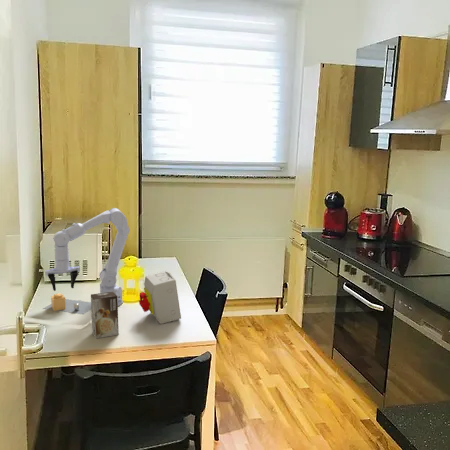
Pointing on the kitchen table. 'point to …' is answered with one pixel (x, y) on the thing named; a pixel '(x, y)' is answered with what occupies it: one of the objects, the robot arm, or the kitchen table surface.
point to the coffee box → (104, 314)
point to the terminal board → (69, 305)
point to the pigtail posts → (76, 307)
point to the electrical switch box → (161, 297)
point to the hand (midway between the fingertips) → (63, 288)
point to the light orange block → (58, 302)
